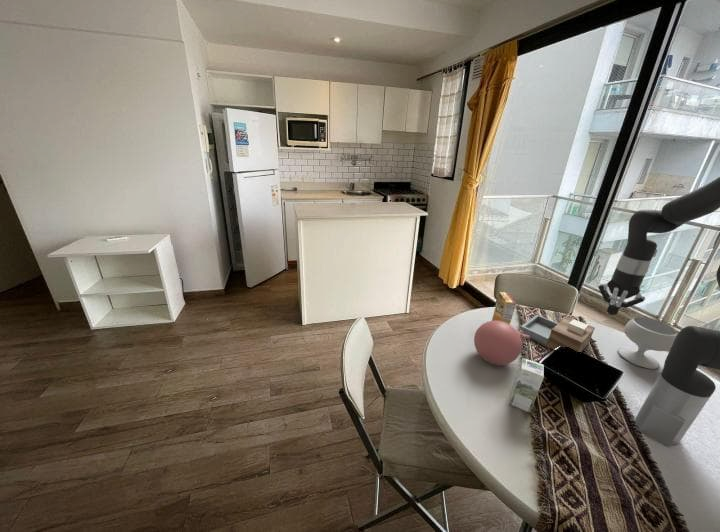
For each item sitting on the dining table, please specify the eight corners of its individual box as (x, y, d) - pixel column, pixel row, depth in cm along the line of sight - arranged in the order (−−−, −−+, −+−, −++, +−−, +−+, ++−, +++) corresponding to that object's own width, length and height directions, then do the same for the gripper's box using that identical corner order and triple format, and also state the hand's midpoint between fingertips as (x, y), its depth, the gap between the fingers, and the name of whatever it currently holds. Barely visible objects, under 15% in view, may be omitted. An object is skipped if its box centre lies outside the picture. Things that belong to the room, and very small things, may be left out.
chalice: (671, 375, 103) (692, 341, 97) (624, 365, 106) (641, 331, 101) (649, 351, 115) (666, 319, 109) (607, 343, 119) (622, 312, 113)
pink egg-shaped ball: (537, 373, 101) (550, 337, 95) (482, 375, 99) (492, 338, 93) (512, 345, 115) (522, 312, 109) (463, 346, 113) (471, 312, 107)
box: (545, 345, 115) (548, 338, 114) (519, 333, 123) (521, 326, 121) (560, 332, 125) (562, 325, 124) (534, 320, 132) (537, 314, 131)
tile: (582, 335, 109) (584, 329, 108) (567, 328, 113) (569, 323, 112) (586, 330, 112) (588, 325, 111) (571, 324, 116) (573, 319, 115)
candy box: (490, 322, 130) (498, 291, 124) (500, 322, 130) (508, 292, 124) (497, 333, 122) (506, 301, 116) (507, 334, 121) (517, 302, 116)
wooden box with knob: (574, 359, 108) (582, 342, 105) (545, 346, 115) (551, 329, 112) (588, 344, 118) (595, 327, 115) (560, 332, 125) (566, 316, 122)
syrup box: (530, 400, 90) (544, 363, 84) (530, 414, 85) (544, 376, 79) (510, 392, 92) (522, 356, 87) (508, 405, 87) (521, 368, 82)
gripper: (603, 265, 99) (586, 309, 106) (655, 279, 90) (632, 326, 96) (609, 261, 103) (592, 303, 110) (659, 274, 94) (637, 319, 101)
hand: (611, 314), depth 103 cm, fingers closed
